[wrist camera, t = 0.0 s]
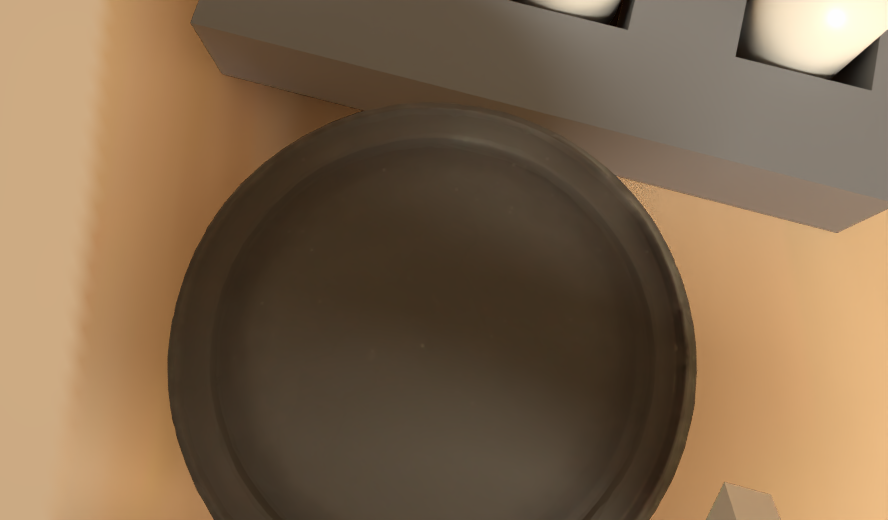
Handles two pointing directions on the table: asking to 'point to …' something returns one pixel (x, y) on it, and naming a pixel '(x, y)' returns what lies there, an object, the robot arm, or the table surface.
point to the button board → (593, 89)
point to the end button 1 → (810, 33)
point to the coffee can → (432, 331)
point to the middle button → (579, 8)
